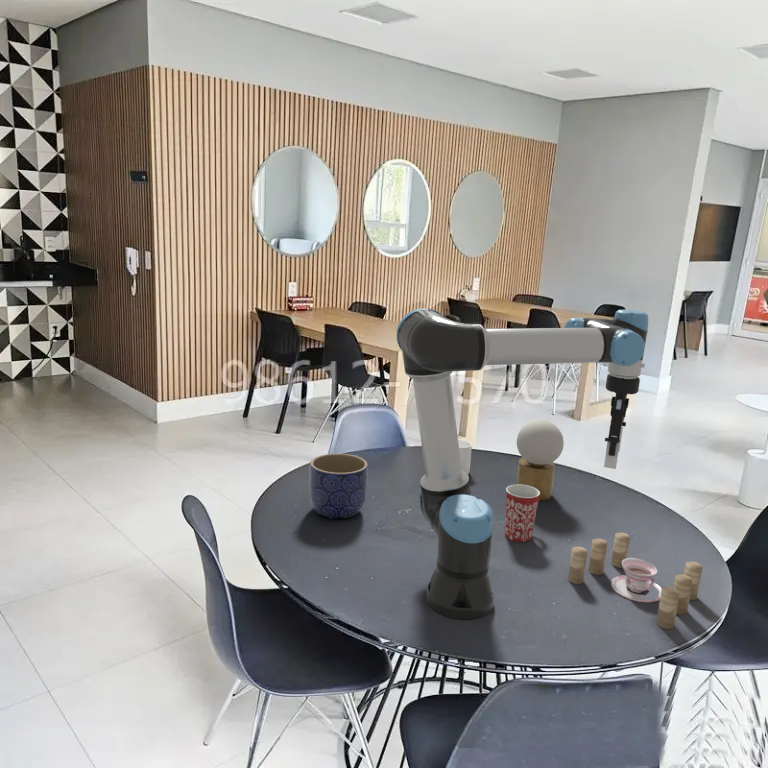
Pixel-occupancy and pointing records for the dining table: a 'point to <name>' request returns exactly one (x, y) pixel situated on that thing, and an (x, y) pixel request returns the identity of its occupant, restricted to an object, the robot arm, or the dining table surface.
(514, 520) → the mug
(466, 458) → the cup
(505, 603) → the dining table surface
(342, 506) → the planter
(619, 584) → the teacup
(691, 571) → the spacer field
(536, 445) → the lamp
